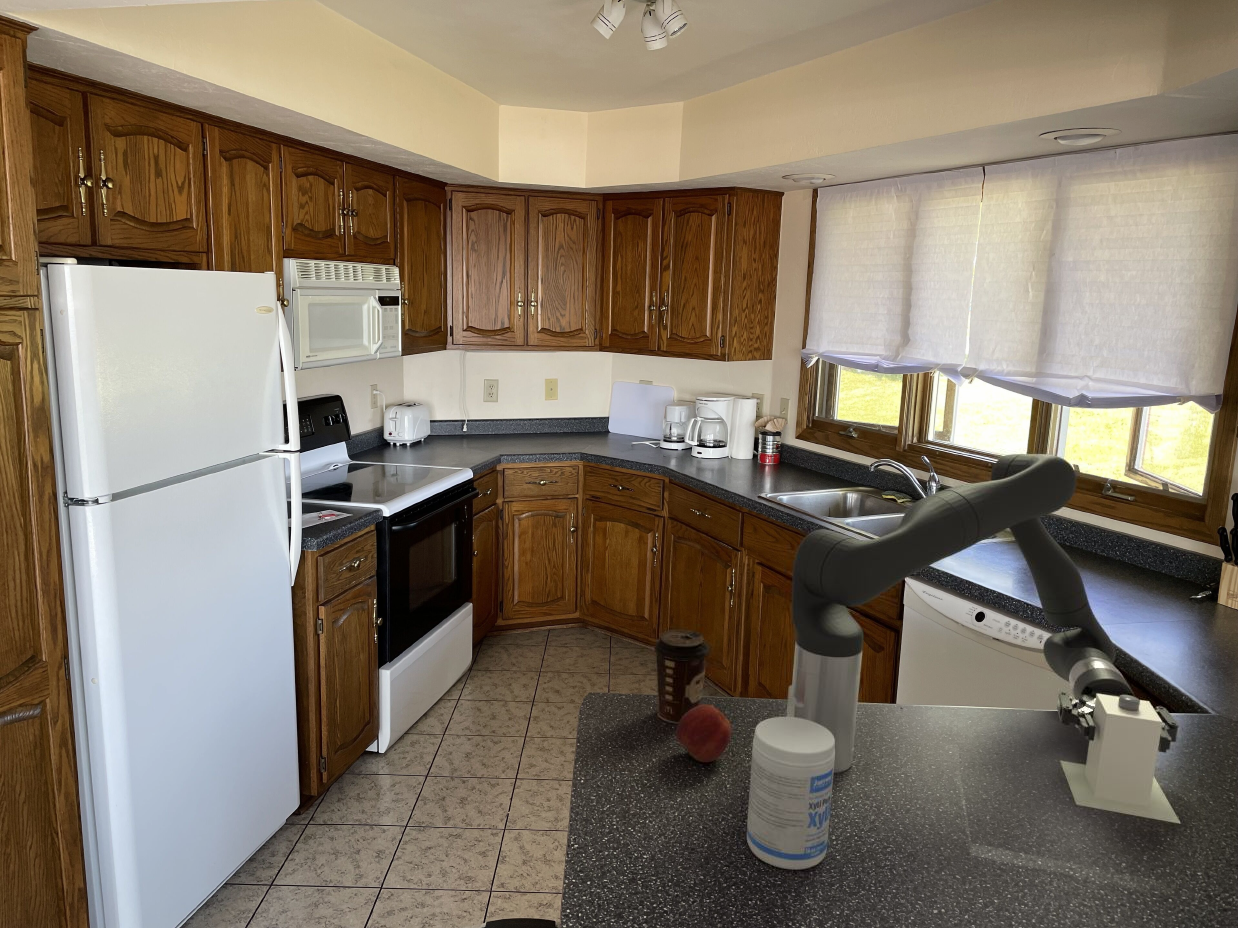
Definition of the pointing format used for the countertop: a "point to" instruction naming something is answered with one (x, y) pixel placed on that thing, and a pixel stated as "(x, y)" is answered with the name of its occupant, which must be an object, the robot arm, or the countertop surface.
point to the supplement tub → (790, 792)
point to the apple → (704, 733)
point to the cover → (1123, 749)
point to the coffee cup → (679, 672)
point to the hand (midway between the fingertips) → (1127, 739)
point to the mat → (1085, 797)
